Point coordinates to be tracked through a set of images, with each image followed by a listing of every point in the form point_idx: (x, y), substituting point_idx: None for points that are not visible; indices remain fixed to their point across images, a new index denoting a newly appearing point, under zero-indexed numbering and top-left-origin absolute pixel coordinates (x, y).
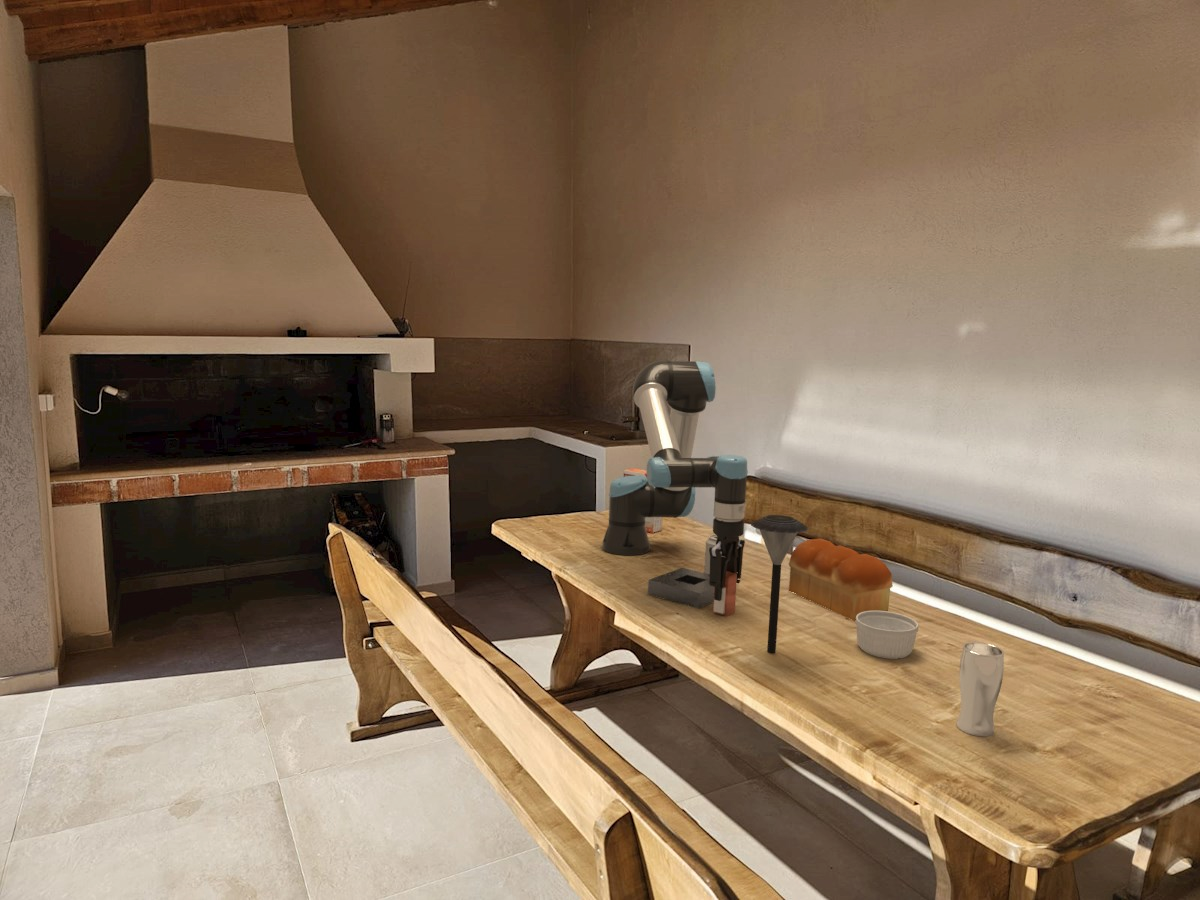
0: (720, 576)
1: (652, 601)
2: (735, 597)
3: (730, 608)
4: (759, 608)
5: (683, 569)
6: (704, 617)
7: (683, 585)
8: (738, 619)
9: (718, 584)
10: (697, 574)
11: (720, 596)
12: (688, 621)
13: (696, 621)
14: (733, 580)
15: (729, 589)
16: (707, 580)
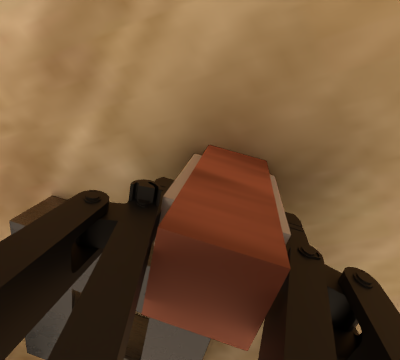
0: (382, 335)
1: (236, 352)
2: (199, 162)
3: (239, 161)
4: (114, 70)
5: (38, 349)
6: (312, 223)
7: (175, 340)
8: (282, 110)
9: (376, 288)
10: (47, 317)
11: (289, 223)
12: (375, 258)
13: (366, 237)
14: (215, 217)
15: (260, 205)
16: (77, 287)
